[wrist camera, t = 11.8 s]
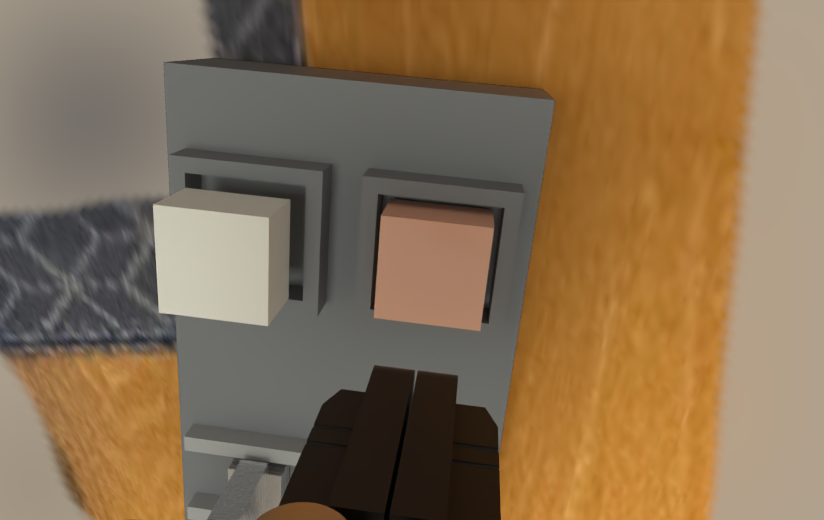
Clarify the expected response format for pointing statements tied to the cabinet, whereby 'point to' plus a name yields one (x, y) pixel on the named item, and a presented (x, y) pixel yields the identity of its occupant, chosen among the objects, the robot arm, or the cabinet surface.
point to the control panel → (342, 241)
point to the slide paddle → (251, 490)
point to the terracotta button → (433, 263)
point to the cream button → (222, 255)
